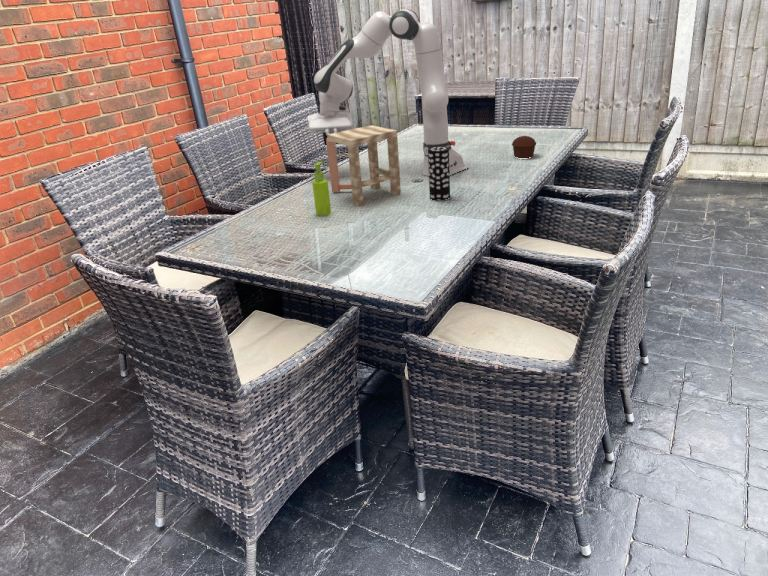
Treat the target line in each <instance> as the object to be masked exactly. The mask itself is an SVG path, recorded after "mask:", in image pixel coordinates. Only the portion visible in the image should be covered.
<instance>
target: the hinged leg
mask: <svg viewBox="0 0 768 576" xmlns="http://www.w3.org/2000/svg"><path fill="white" fill-rule="evenodd" d="M325 143H326V150H327V159H328V160H327V161H328V168H329V169H328V170H329V176H330V177H329V178H330V185H331V187H330V188H331V193H340V191H341V190H352V185H351V183H340V174H339V166H338V164H339V163H338V155H337V148H336V143H335V142H331V141H328V137H326V139H325Z"/></svg>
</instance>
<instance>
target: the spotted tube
mask: <svg viewBox="0 0 768 576" xmlns="http://www.w3.org/2000/svg"><path fill="white" fill-rule="evenodd" d="M428 166H429V176H428V183H429V184H428V185H429V186H428V187H429V189H428V190H429V200H431V199H432V200H431V201H433V200H445V199H448V198H450V199H451V177H450V166H449V148H448V147H444V146H437V147H431V148H429V149H428ZM448 200H449V199H448ZM445 201H446V200H445Z"/></svg>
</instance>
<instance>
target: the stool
mask: <svg viewBox="0 0 768 576" xmlns="http://www.w3.org/2000/svg"><path fill="white" fill-rule="evenodd" d="M326 136H327V137H326V138H328V141H331V142H335V144H339V145H343V146H346V147H347V151H348V152H347V154H348V164H349V173H350V184H351V185H352V189H351V193H352V203H353V204H352V205H353V206H354V207H355V206H356V207H361V206H364V204H365V203H364V195H363V194H364V192H363V188H364V187H365V188H366V187H369V186H370V188H371V189H378V188H381V183H384V182H387V181H389V184H390V194H391V196H392V195H393V196H395V195H396V196H399V195H401V194H402V191H401V190H402V189H401V173H400V160H399V146H398V145H399V143H398V130H397V129H393V128H387V127H382V126H376V125H367V126H362V127H358V128H357V127H356V128H353V129H351V130H347V131H337V133H334V132H333V133H332V132H331V133H329V134H328V135H326ZM384 140H386V142H387V155H388V159H387V160H388V168H389V169H385V168H381V167H380V165H379V164H380V163H379V152H378V142H379V141H384ZM362 145H367V157H368V168H369V179H366V180H365V179H364V180H362V172H361V171H362V170H361V161H360V153H359V152H360V149H359V146H362ZM380 175H381V176H380Z"/></svg>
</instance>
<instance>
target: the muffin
mask: <svg viewBox="0 0 768 576" xmlns="http://www.w3.org/2000/svg"><path fill="white" fill-rule="evenodd" d="M536 146H537V142H536V140H535V139H534V138H533V137H531V136H529V135H528V136H527V135H521V136H518V137H516V138H514V140H513V141H512V143H511V147H512V149H513V157H514V156H515V157H518V158H529V157H532V156H533V157H534V154H535V150H536V149H535V148H536ZM515 157H514V158H515Z"/></svg>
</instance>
